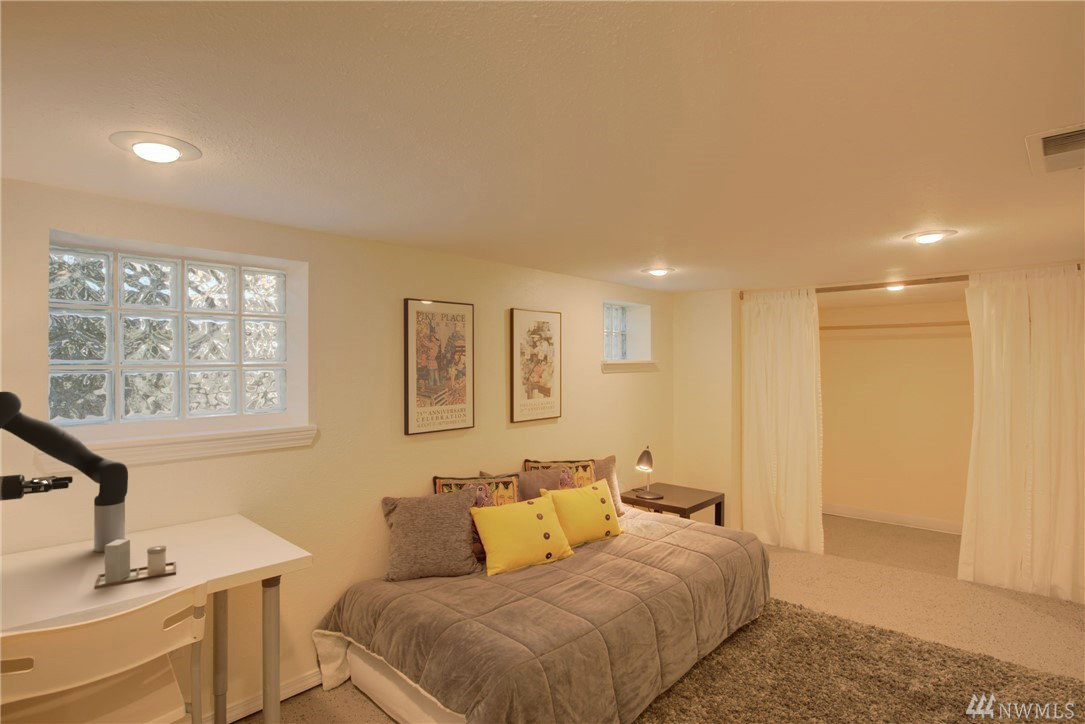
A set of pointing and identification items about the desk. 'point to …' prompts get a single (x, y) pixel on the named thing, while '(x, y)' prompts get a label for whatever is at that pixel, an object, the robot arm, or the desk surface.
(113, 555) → the skincare box
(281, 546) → the desk surface
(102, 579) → the organizer
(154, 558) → the cream jar
